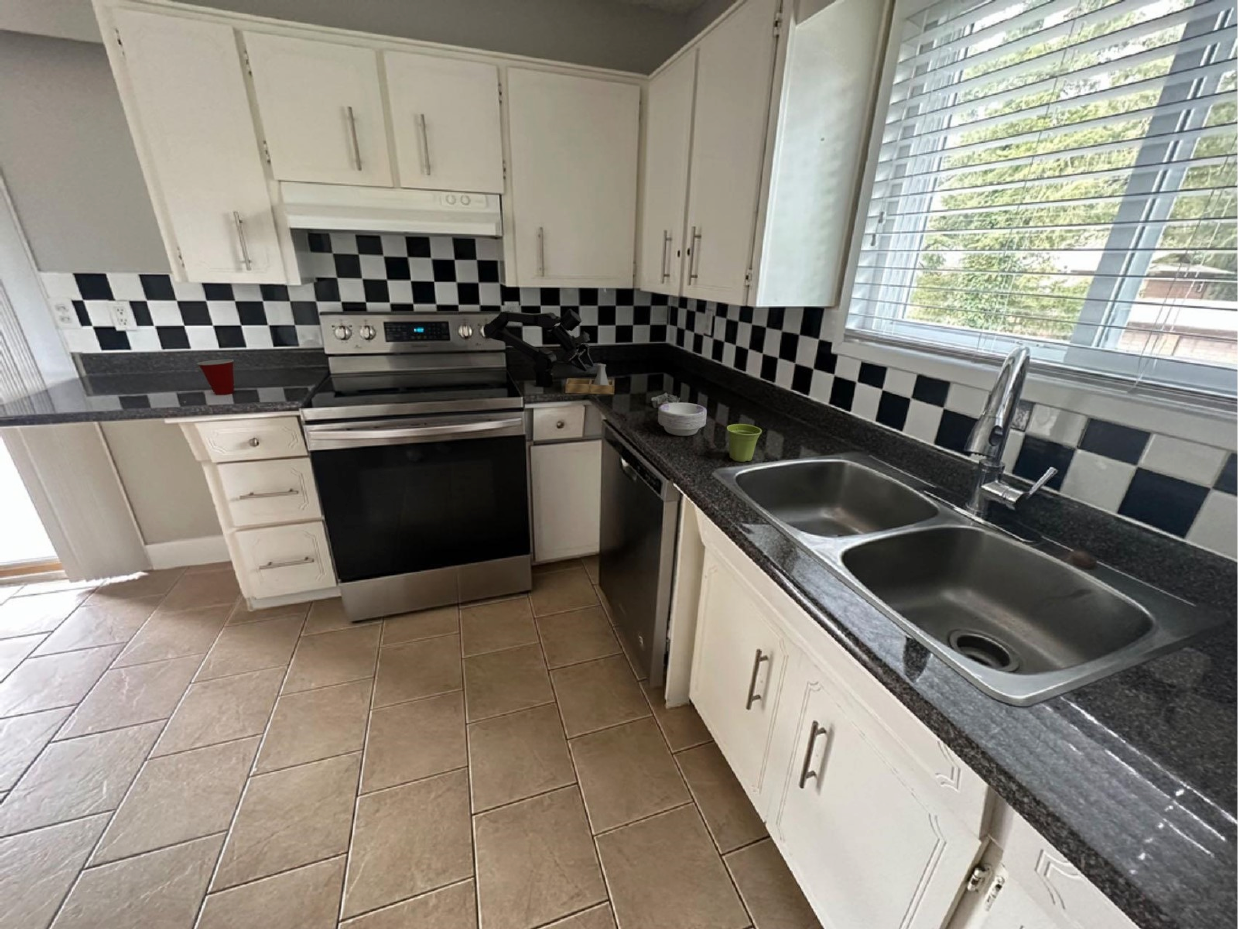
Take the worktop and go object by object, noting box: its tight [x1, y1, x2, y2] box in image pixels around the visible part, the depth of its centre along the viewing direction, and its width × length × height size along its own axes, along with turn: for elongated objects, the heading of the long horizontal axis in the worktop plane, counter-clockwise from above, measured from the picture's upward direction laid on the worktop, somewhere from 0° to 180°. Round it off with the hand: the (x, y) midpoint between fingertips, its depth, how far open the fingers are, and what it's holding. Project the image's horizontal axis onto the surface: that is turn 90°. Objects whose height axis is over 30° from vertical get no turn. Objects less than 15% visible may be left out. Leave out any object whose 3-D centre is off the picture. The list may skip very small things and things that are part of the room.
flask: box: [593, 363, 609, 385], centre depth 204 cm, size 7×7×10 cm
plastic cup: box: [196, 358, 235, 396], centre depth 182 cm, size 11×11×12 cm
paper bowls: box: [657, 402, 708, 437], centre depth 159 cm, size 15×15×8 cm
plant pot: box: [726, 423, 763, 463], centre depth 139 cm, size 9×9×9 cm
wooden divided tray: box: [564, 377, 615, 395], centre depth 206 cm, size 20×10×4 cm, turn 91°
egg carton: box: [651, 392, 681, 409], centre depth 188 cm, size 11×8×4 cm
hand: (589, 368), depth 204 cm, fingers open, 9 cm apart
